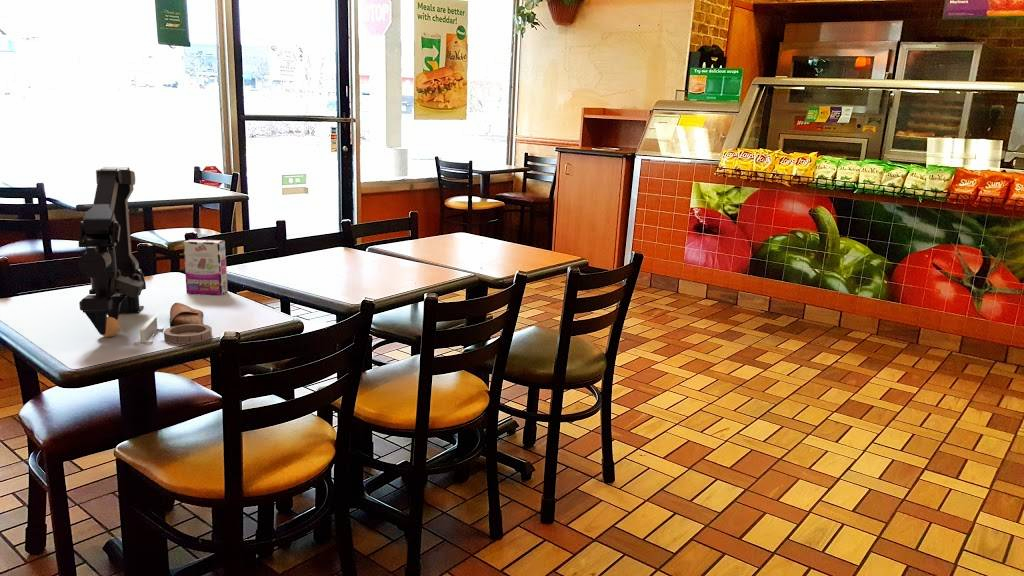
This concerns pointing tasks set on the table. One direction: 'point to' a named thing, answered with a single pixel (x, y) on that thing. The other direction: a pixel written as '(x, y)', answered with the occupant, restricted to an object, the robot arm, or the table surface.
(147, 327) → the divider
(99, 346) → the table surface
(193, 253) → the candy bar box
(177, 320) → the sunglasses case
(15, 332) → the table surface
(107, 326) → the ball
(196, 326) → the saucer
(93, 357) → the table surface
